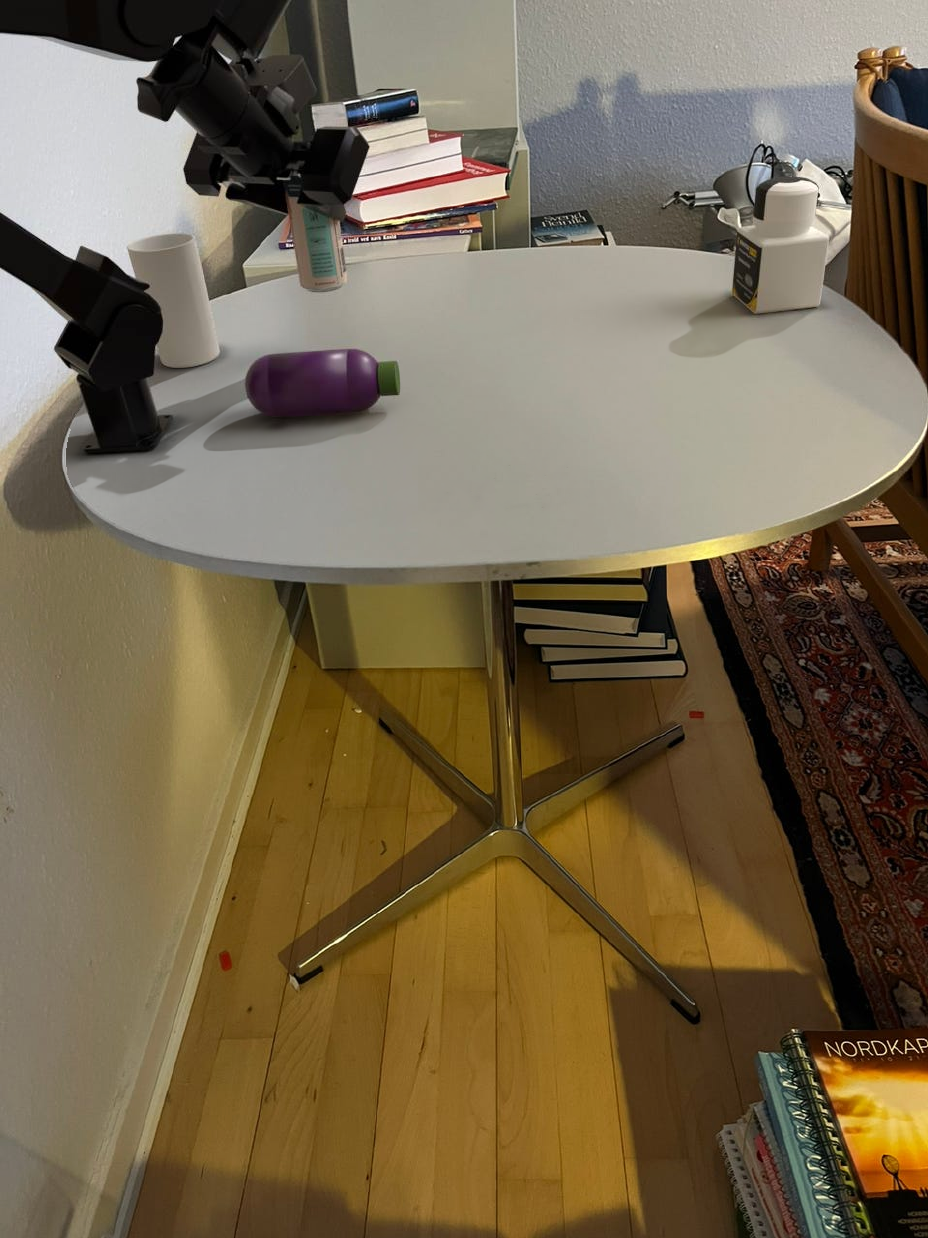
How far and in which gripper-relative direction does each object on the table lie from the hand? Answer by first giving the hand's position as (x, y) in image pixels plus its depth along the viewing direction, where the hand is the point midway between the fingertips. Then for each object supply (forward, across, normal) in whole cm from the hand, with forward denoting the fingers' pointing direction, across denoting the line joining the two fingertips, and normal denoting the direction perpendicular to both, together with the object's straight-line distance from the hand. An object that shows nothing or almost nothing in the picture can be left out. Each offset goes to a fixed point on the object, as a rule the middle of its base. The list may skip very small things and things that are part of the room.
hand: (323, 215), depth 93 cm
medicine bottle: (+28, -38, -10) cm, 48 cm away
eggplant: (-1, -9, +20) cm, 22 cm away
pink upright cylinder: (+4, 0, +6) cm, 7 cm away
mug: (+4, +15, +15) cm, 21 cm away
